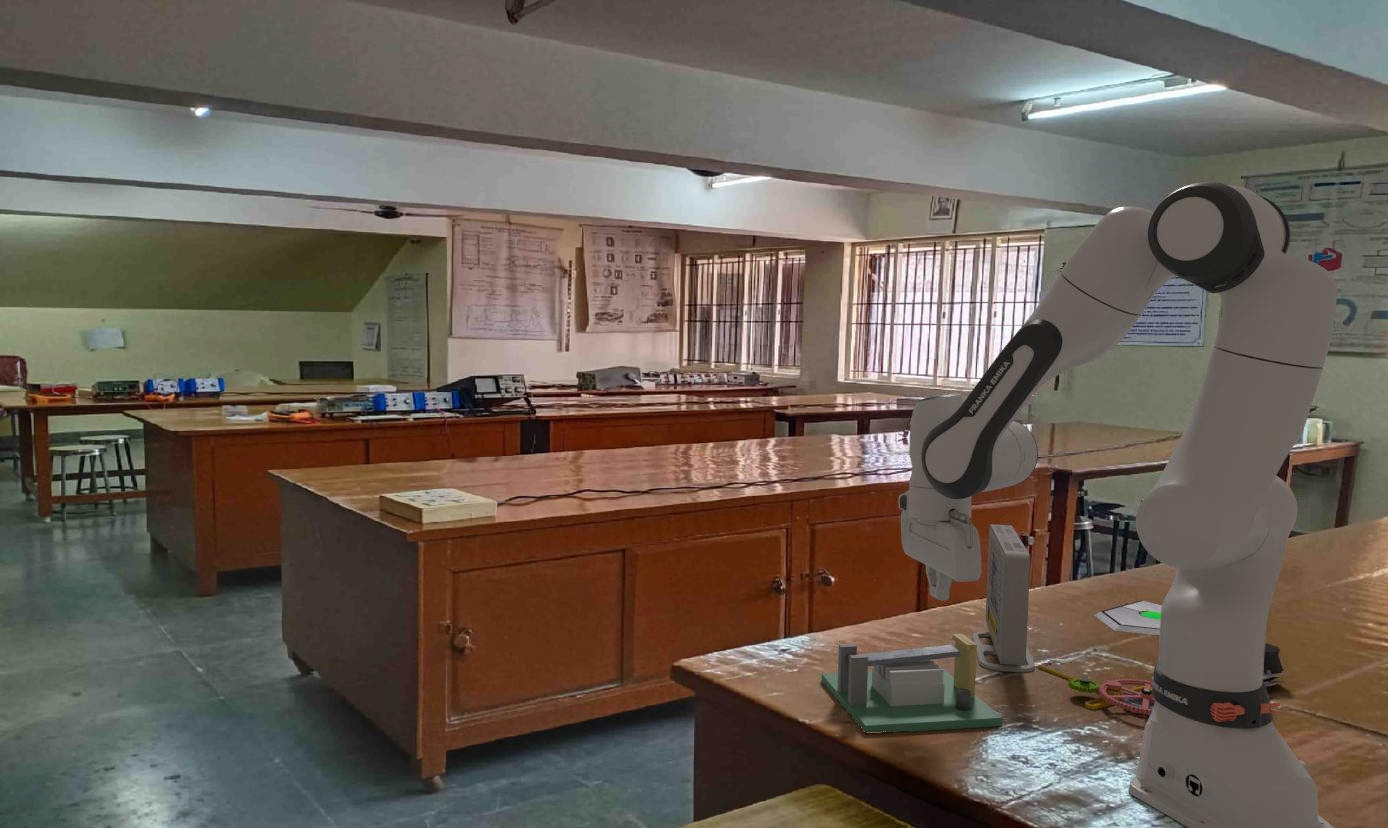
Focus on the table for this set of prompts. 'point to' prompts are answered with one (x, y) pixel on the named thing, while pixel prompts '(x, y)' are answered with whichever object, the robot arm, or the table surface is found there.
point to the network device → (1006, 602)
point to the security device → (1133, 618)
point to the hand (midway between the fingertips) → (939, 598)
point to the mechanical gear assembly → (1113, 692)
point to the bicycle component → (1271, 665)
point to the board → (916, 712)
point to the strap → (911, 655)
